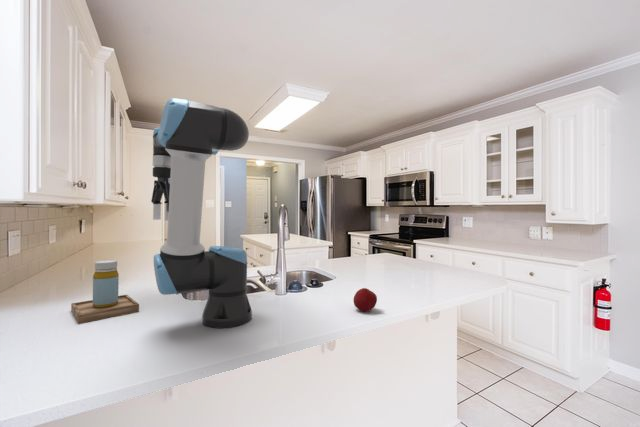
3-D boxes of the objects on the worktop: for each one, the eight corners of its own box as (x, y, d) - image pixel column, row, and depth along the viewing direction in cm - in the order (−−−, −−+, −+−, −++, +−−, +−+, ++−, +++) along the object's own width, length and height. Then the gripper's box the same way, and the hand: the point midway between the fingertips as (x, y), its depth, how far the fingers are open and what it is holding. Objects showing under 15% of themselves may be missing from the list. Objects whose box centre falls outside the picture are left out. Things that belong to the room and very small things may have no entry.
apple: (368, 316, 99) (369, 292, 99) (349, 310, 104) (349, 288, 104) (380, 311, 104) (380, 288, 104) (361, 306, 110) (361, 284, 110)
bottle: (123, 302, 102) (123, 260, 102) (106, 309, 95) (107, 263, 95) (104, 301, 103) (105, 259, 103) (87, 308, 96) (87, 262, 96)
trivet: (138, 311, 100) (139, 304, 100) (78, 324, 88) (78, 315, 88) (126, 301, 111) (126, 294, 111) (71, 311, 99) (71, 303, 99)
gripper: (185, 165, 113) (184, 220, 113) (162, 171, 130) (161, 219, 130) (164, 163, 107) (163, 221, 107) (143, 169, 124) (142, 219, 124)
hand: (162, 220), depth 118 cm, fingers open, 13 cm apart
